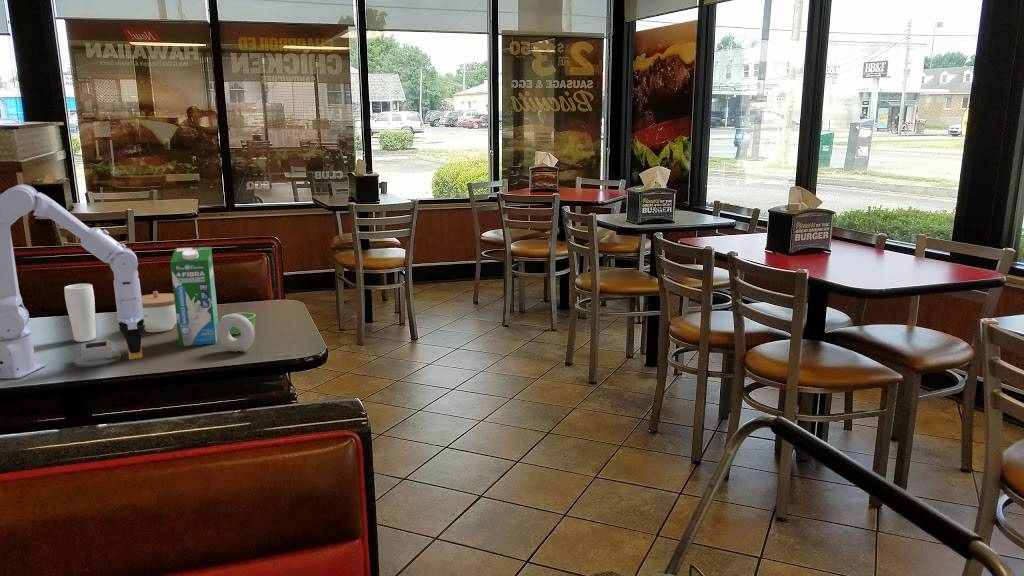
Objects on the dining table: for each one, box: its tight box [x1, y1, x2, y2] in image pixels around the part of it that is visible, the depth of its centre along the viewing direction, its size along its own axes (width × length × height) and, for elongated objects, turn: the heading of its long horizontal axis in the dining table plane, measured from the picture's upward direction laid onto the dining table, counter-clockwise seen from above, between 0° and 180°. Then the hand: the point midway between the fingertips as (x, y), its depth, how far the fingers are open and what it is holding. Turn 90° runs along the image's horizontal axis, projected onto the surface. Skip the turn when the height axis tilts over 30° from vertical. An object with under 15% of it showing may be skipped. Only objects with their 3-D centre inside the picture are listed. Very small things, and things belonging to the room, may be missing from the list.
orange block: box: [127, 345, 143, 360], centre depth 185 cm, size 3×3×6 cm
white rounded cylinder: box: [63, 283, 97, 343], centre depth 199 cm, size 7×7×15 cm
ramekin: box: [221, 312, 256, 335], centre depth 209 cm, size 9×9×4 cm
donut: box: [216, 313, 256, 353], centre depth 188 cm, size 10×4×10 cm, turn 84°
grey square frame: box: [73, 339, 122, 369], centre depth 182 cm, size 10×10×4 cm
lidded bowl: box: [141, 290, 177, 333], centre depth 210 cm, size 13×13×11 cm
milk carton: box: [170, 246, 219, 347], centre depth 197 cm, size 9×9×25 cm
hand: (134, 350), depth 185 cm, fingers closed on orange block, 3 cm apart
